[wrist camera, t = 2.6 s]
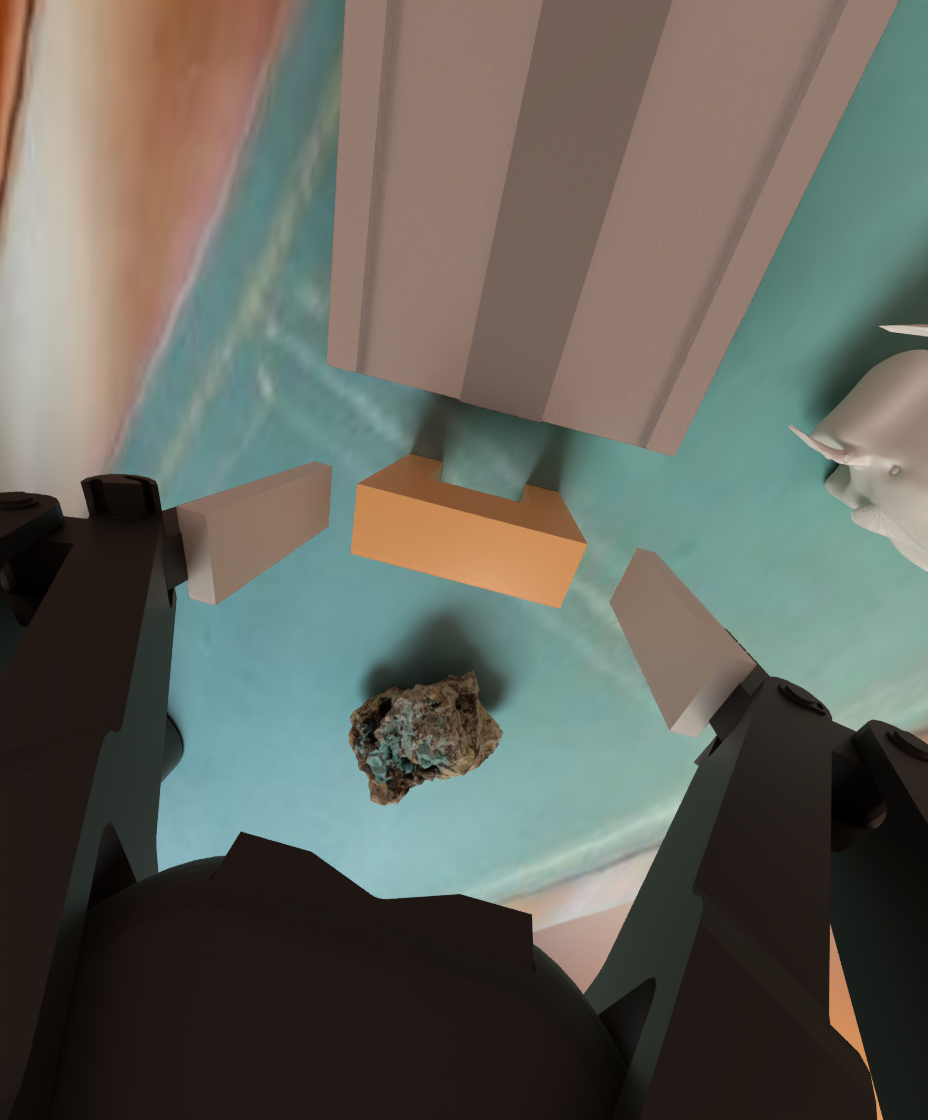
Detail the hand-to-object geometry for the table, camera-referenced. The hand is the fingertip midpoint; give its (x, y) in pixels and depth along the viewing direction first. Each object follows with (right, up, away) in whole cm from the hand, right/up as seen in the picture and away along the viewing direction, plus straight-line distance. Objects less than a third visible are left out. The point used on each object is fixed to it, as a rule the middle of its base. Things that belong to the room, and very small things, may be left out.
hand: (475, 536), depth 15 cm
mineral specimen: (-4, -13, +15) cm, 20 cm away
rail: (+4, +15, 0) cm, 15 cm away
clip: (0, +3, +6) cm, 7 cm away
